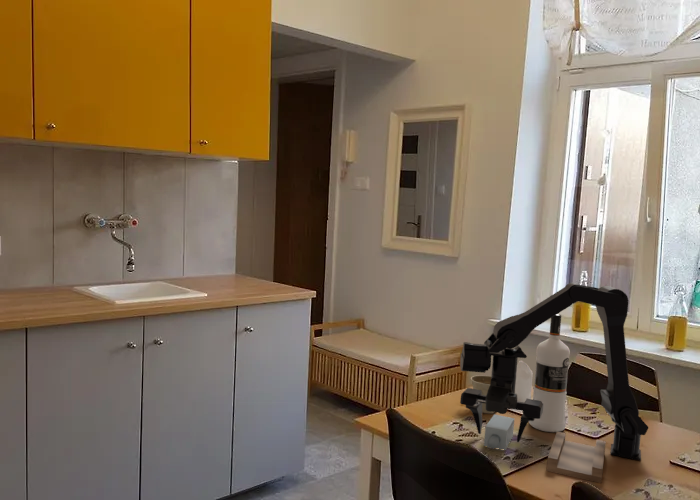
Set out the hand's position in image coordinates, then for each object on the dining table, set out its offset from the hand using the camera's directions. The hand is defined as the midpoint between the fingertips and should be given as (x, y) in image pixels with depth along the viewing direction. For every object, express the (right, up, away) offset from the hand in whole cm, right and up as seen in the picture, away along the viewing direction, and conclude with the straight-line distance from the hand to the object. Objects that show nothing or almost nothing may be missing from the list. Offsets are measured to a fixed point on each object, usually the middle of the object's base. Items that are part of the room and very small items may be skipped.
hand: (498, 437), depth 148 cm
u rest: (+16, -3, -9) cm, 18 cm away
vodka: (+16, -1, +13) cm, 21 cm away
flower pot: (+2, 0, +24) cm, 24 cm away
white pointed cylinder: (+15, 0, +35) cm, 39 cm away
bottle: (0, -1, -1) cm, 2 cm away
